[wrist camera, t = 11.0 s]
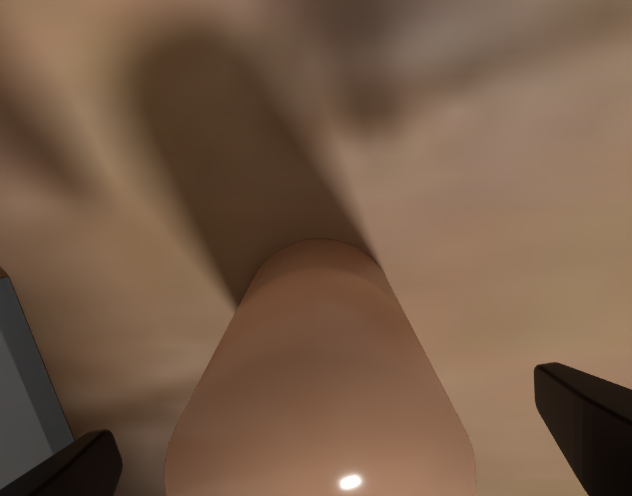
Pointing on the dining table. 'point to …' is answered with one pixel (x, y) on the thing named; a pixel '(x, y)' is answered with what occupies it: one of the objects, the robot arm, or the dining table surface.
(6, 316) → the tote
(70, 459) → the robot arm
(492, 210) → the dining table surface
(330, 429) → the terracotta capsule
